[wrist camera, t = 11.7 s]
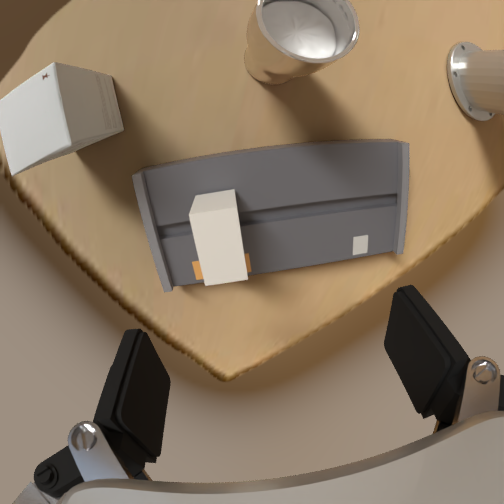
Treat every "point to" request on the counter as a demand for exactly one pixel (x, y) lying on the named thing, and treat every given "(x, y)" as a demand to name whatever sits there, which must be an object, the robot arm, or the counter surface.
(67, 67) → the supplement box
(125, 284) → the counter surface
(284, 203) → the fader board
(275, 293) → the counter surface
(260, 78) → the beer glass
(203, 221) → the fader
